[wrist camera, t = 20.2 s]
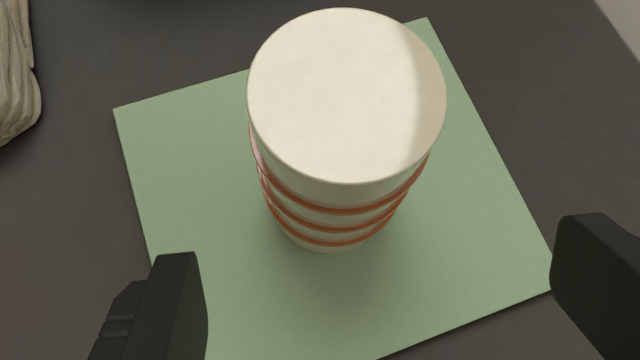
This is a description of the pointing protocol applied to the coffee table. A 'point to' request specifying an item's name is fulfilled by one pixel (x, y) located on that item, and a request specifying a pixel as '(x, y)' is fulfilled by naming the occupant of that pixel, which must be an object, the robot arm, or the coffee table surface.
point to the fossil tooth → (16, 72)
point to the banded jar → (341, 123)
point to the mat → (329, 269)
